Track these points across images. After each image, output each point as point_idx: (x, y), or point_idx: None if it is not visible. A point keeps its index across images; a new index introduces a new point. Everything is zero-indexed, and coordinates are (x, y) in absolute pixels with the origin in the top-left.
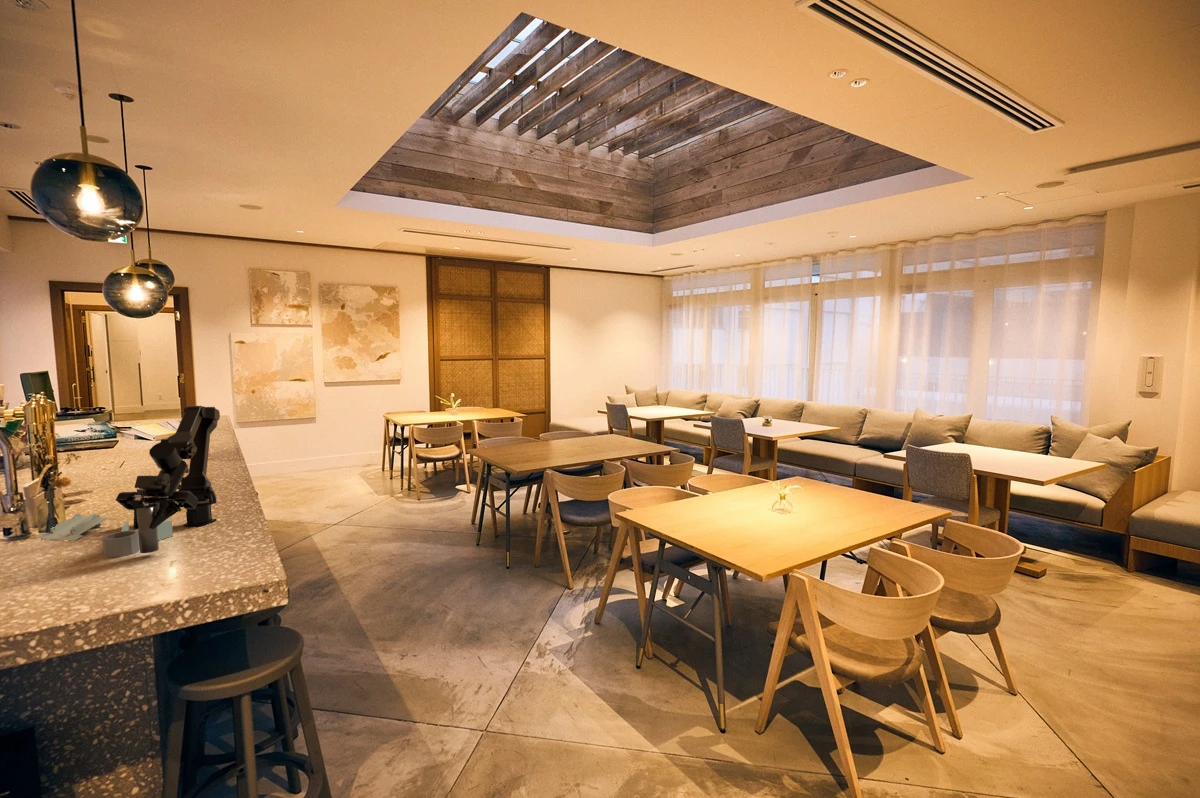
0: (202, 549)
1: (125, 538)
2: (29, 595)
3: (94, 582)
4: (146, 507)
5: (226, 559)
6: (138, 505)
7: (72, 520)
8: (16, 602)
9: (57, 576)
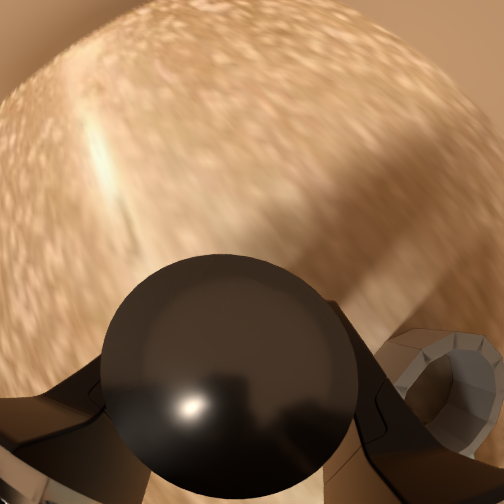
0: None
1: (406, 365)
2: (388, 50)
3: (290, 90)
4: (202, 380)
5: (13, 247)
6: (396, 472)
7: None
8: (376, 28)
9: (449, 156)
